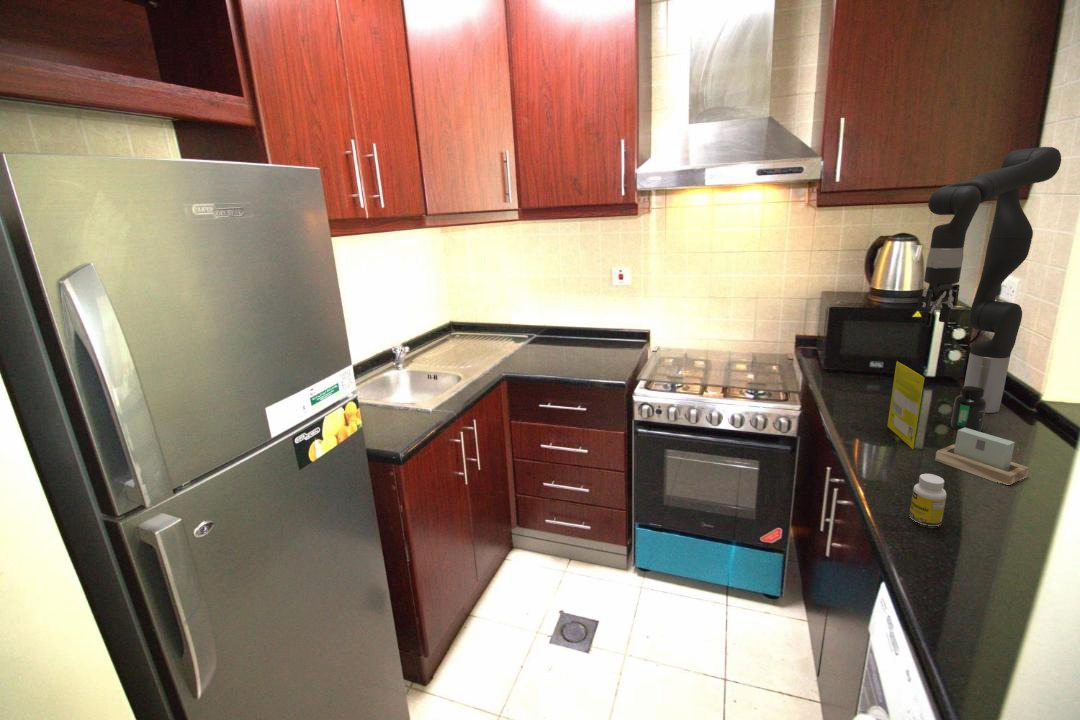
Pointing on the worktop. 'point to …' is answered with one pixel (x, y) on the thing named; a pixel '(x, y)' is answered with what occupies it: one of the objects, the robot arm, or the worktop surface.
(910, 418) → the food package
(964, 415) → the supplement bottle
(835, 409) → the worktop surface
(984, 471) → the track
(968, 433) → the door panel
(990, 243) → the robot arm
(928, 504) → the supplement bottle
